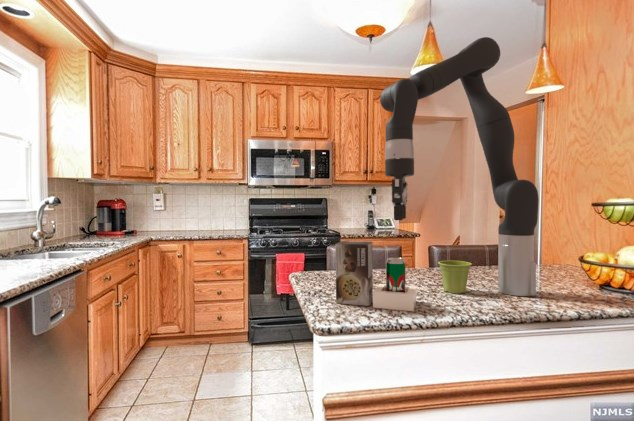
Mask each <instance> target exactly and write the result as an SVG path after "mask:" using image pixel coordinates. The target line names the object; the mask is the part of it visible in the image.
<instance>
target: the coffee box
mask: <svg viewBox="0 0 634 421" xmlns="http://www.w3.org/2000/svg"><path fill="white" fill-rule="evenodd" d="M334 245H335V246H334V249H335V304H341V305H351V306H352V305H353V306H354V305H355V306H365V307H366V306H367V307H368V306H370V305H371V304H372V303H373V291H374V288H373V287H374V285H373V284H374V280H373V279H374V278H373V277H374V276H373V274H374V273H373V271H374V270H373V241H356V240H355V241H352V240H350V241H345V240H342V241H339V242H337V243H335V244H334Z"/></svg>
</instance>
